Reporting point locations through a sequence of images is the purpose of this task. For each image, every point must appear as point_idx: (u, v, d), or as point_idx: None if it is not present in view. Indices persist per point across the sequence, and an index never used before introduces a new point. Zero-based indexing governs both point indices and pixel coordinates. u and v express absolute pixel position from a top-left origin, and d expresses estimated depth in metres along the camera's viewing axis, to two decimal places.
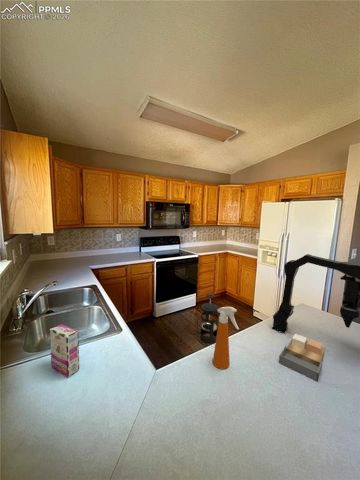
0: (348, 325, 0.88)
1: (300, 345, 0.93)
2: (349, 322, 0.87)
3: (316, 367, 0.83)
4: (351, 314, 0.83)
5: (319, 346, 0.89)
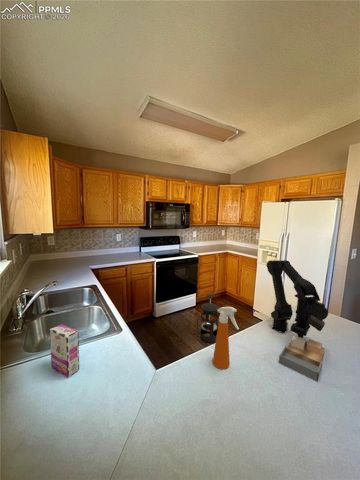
0: None
1: (299, 347, 0.91)
2: (301, 335, 0.95)
3: (316, 367, 0.83)
4: (299, 333, 0.88)
5: (319, 346, 0.89)
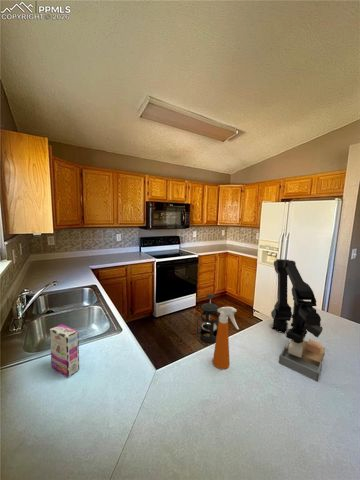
0: None
1: (297, 354, 0.87)
2: (298, 341, 0.90)
3: (316, 367, 0.83)
4: (295, 339, 0.83)
5: (319, 346, 0.89)
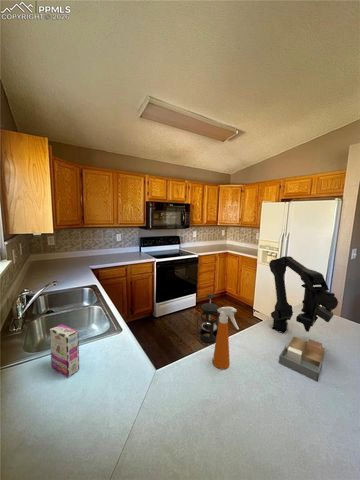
0: (307, 329, 0.92)
1: None
2: (308, 327, 0.91)
3: (316, 367, 0.83)
4: (305, 323, 0.85)
5: (319, 346, 0.89)
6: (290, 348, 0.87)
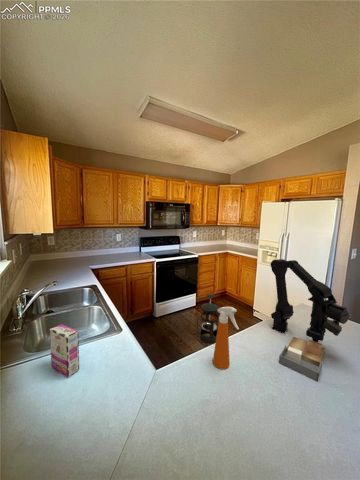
0: None
1: None
2: (317, 340, 0.92)
3: (316, 367, 0.83)
4: (316, 337, 0.85)
5: (319, 347, 0.88)
6: (290, 348, 0.87)
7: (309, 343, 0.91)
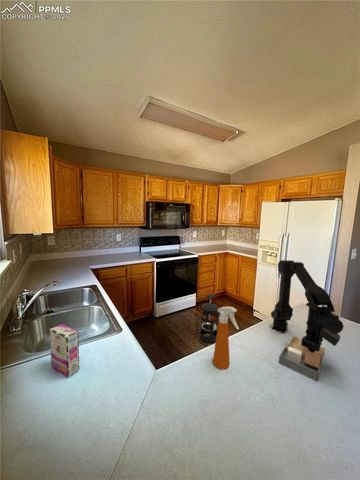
0: None
1: None
2: (313, 349, 0.85)
3: None
4: (312, 347, 0.78)
5: (317, 363, 0.81)
6: (290, 348, 0.87)
7: (306, 359, 0.83)
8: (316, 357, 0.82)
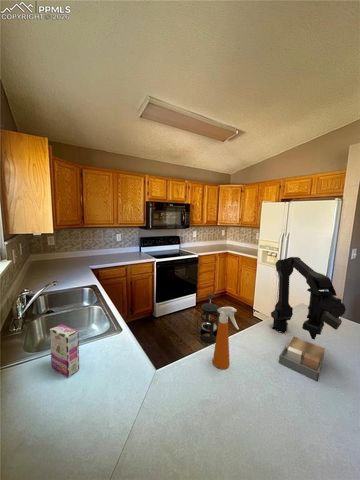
0: (313, 337, 0.86)
1: None
2: (314, 334, 0.85)
3: None
4: (313, 331, 0.79)
5: (316, 369, 0.80)
6: (290, 348, 0.87)
7: (305, 365, 0.82)
8: (315, 364, 0.80)
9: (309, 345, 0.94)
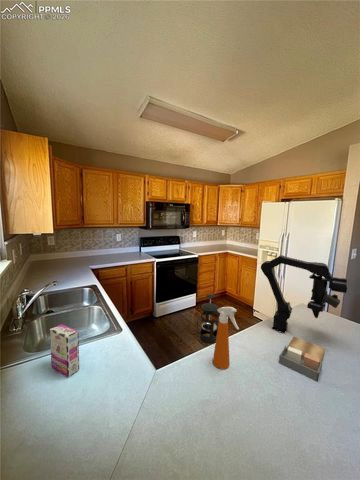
0: (316, 316, 1.01)
1: None
2: (317, 313, 1.00)
3: None
4: (316, 309, 0.93)
5: (316, 369, 0.80)
6: (290, 348, 0.87)
7: (305, 365, 0.82)
8: (315, 364, 0.80)
9: (309, 345, 0.94)
